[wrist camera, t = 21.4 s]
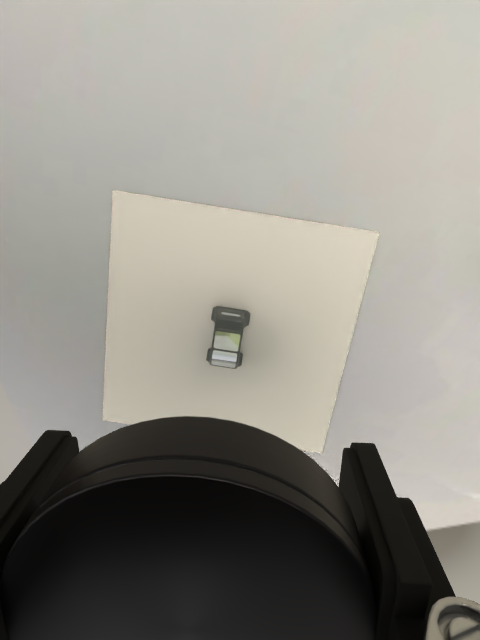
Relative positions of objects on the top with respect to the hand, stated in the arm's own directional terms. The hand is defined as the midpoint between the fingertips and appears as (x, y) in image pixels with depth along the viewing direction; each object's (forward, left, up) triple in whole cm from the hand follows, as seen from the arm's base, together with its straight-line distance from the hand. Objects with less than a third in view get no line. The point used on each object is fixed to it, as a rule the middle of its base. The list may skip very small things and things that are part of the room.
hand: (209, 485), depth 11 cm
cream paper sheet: (0, 0, -11) cm, 11 cm away
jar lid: (0, 0, +3) cm, 3 cm away
